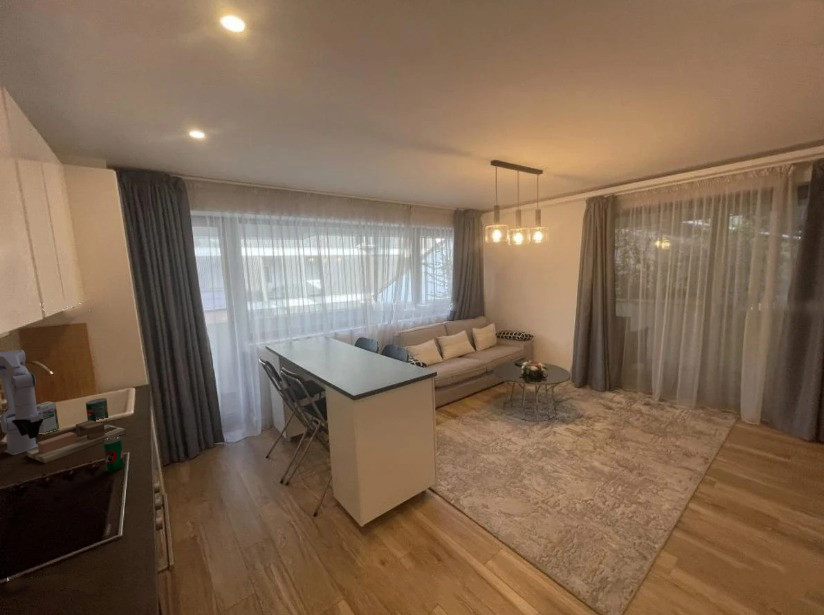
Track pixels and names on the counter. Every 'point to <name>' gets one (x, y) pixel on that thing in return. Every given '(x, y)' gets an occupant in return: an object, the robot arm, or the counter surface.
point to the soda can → (113, 453)
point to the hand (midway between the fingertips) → (29, 436)
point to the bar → (56, 442)
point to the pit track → (80, 440)
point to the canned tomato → (97, 409)
